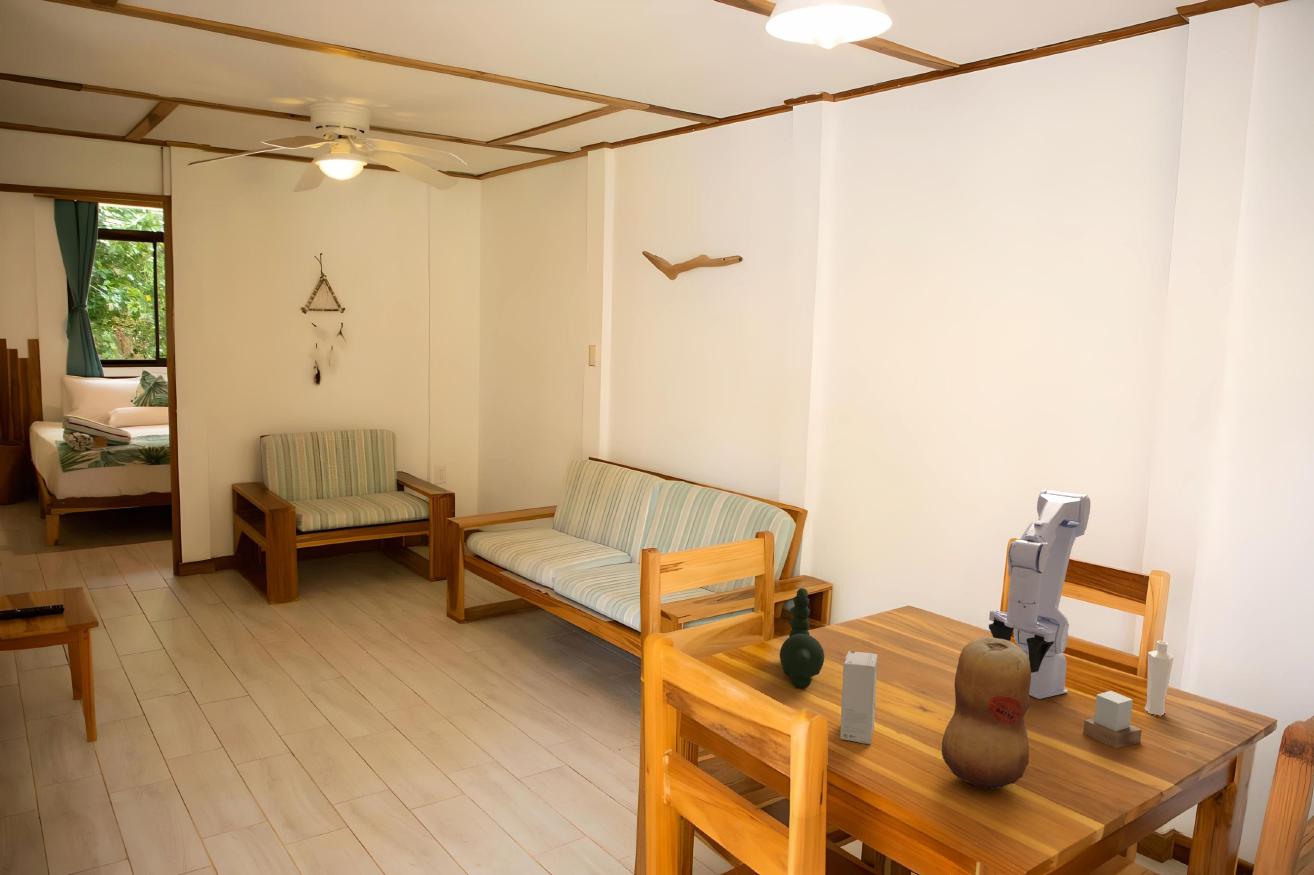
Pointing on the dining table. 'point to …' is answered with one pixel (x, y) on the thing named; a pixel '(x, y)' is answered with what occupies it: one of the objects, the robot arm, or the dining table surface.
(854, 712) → the skincare box
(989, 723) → the butternut squash
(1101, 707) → the grey block
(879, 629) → the dining table surface
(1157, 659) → the perfume bottle
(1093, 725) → the walnut slab
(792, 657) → the toy figurine
